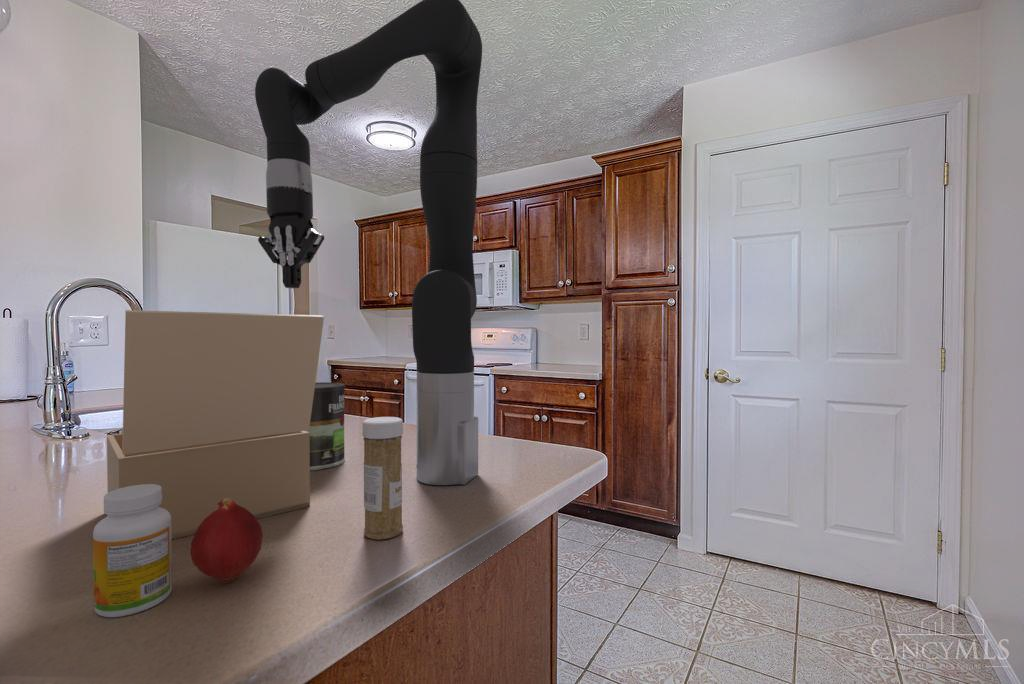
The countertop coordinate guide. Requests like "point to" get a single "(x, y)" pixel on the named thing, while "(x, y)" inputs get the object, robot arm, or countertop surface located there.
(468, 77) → the robot arm
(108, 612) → the supplement bottle
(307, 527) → the countertop surface
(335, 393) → the coffee can
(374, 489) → the sprinkles bottle
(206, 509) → the carton
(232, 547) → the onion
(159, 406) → the carton flap
